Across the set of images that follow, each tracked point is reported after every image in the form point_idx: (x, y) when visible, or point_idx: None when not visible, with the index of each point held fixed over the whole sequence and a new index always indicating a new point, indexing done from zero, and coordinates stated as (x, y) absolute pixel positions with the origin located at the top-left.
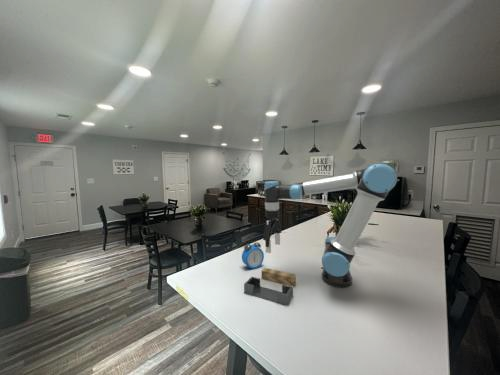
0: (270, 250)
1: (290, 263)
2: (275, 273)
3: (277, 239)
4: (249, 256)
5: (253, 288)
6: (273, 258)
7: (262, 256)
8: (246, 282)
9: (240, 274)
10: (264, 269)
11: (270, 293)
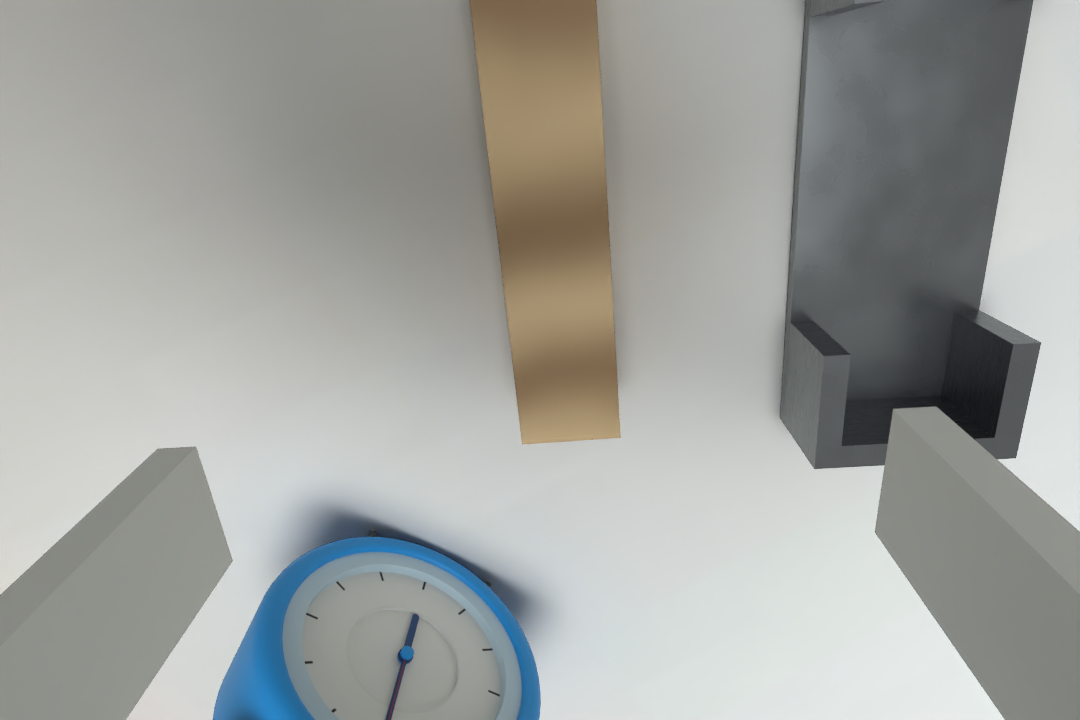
0: (974, 446)
1: (13, 248)
2: (598, 241)
3: (122, 612)
4: (473, 718)
5: (1015, 332)
6: (59, 494)
7: (293, 596)
8: None
9: (634, 607)
10: (566, 421)
11: (892, 149)
